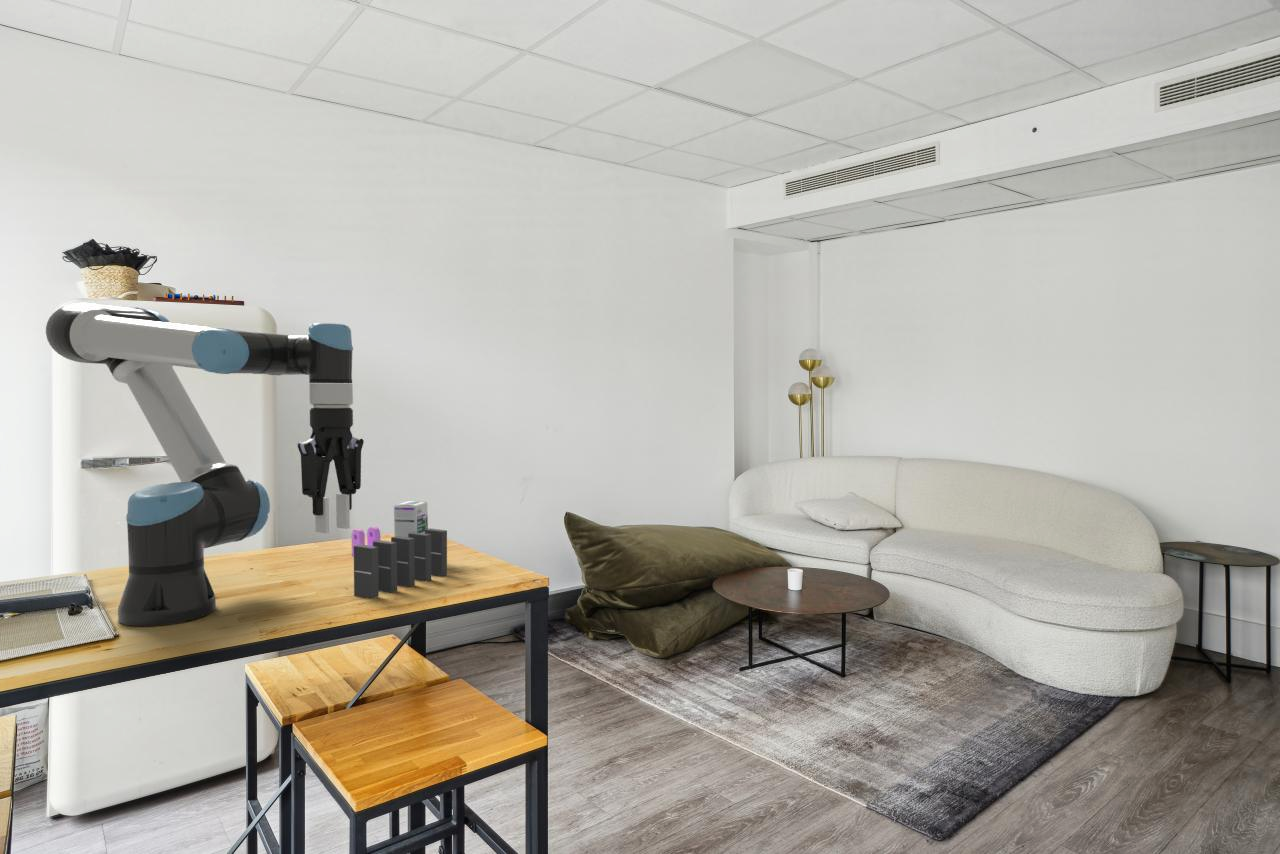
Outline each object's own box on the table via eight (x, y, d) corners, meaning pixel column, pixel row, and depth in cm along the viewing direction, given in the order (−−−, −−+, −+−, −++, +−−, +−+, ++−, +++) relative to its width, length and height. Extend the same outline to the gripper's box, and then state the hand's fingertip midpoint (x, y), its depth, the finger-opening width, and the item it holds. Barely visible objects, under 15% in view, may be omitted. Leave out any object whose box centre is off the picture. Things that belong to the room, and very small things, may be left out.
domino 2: (373, 589, 157) (372, 541, 156) (379, 587, 159) (379, 540, 158) (391, 592, 155) (390, 544, 154) (397, 590, 156) (396, 542, 156)
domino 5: (424, 573, 170) (424, 529, 170) (430, 572, 172) (429, 528, 171) (441, 576, 168) (441, 531, 168) (447, 575, 170) (447, 530, 169)
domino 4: (408, 578, 166) (408, 533, 165) (414, 577, 167) (413, 532, 167) (425, 581, 164) (425, 535, 163) (431, 580, 165) (431, 534, 165)
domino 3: (391, 584, 161) (391, 537, 161) (397, 582, 163) (396, 535, 162) (409, 587, 159) (408, 539, 159) (414, 585, 161) (414, 538, 160)
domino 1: (353, 595, 153) (353, 546, 152) (360, 593, 154) (360, 544, 154) (372, 598, 150) (371, 548, 150) (378, 596, 152) (378, 547, 151)
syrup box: (417, 567, 176) (416, 505, 176) (393, 565, 178) (393, 503, 177) (428, 561, 182) (428, 501, 181) (406, 560, 183) (405, 500, 182)
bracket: (351, 556, 187) (351, 528, 187) (372, 553, 191) (372, 525, 191) (380, 565, 179) (380, 535, 178) (401, 561, 183) (401, 532, 183)
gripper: (353, 405, 152) (354, 521, 154) (277, 407, 137) (279, 535, 138) (380, 406, 149) (381, 524, 150) (306, 408, 134) (308, 540, 135)
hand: (332, 529), depth 144 cm, fingers open, 4 cm apart
